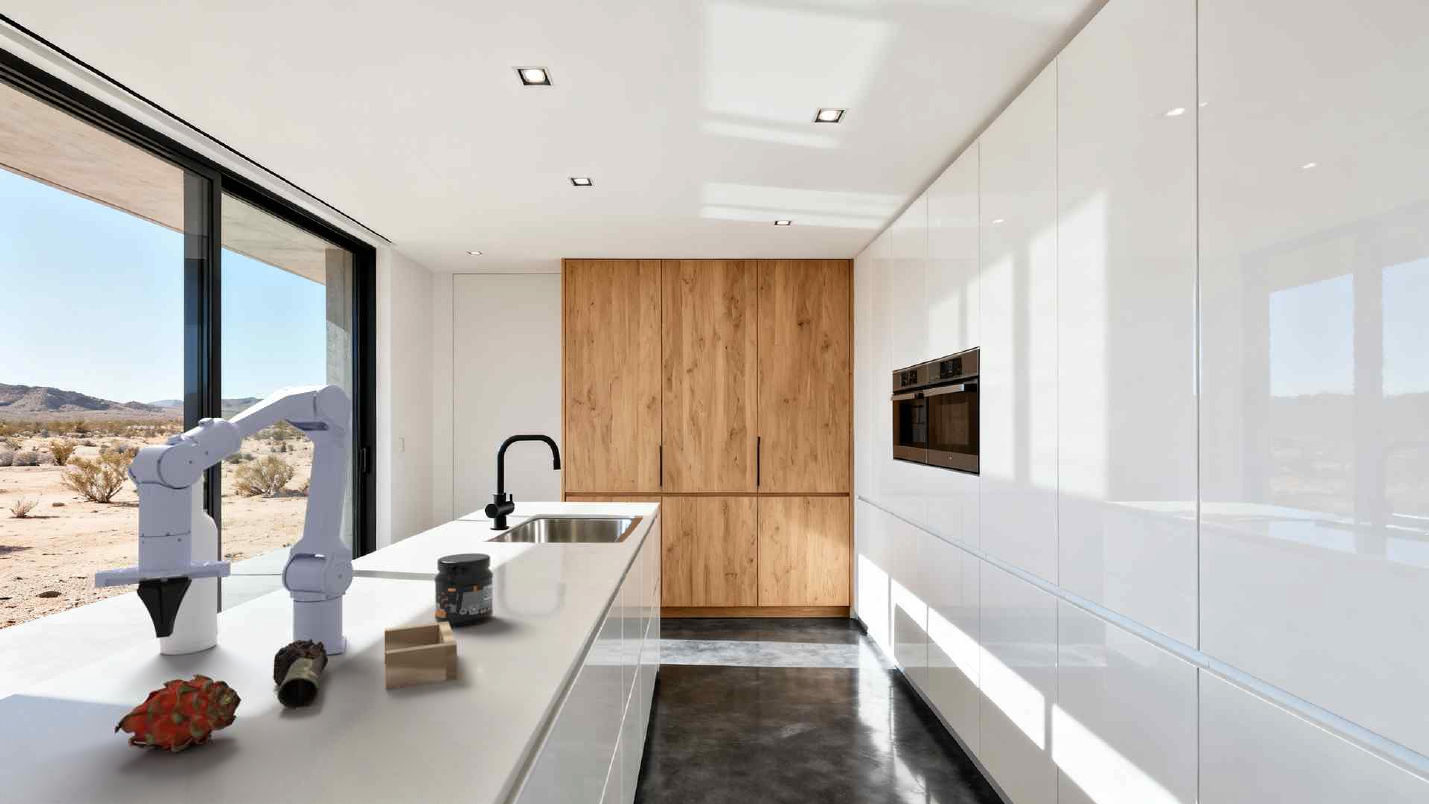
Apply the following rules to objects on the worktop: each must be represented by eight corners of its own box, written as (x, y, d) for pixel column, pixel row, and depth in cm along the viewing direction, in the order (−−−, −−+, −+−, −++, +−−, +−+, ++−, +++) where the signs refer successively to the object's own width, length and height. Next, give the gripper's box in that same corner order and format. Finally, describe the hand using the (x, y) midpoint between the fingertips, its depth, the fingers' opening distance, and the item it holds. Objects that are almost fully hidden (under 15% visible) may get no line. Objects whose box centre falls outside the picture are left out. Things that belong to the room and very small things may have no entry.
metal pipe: (319, 707, 97) (318, 665, 97) (260, 717, 94) (259, 673, 94) (330, 666, 113) (329, 630, 113) (280, 673, 111) (279, 636, 111)
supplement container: (432, 617, 141) (432, 555, 141) (489, 611, 145) (488, 550, 146) (436, 631, 131) (436, 564, 132) (497, 624, 136) (496, 559, 136)
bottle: (206, 638, 129) (207, 469, 130) (225, 645, 124) (226, 470, 125) (152, 650, 122) (153, 471, 123) (170, 658, 118) (171, 473, 119)
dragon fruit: (249, 748, 88) (124, 789, 82) (245, 690, 94) (128, 724, 88) (237, 707, 83) (103, 747, 77) (234, 648, 89) (109, 681, 83)
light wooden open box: (384, 660, 115) (384, 628, 115) (448, 652, 119) (448, 621, 119) (385, 689, 102) (385, 653, 103) (456, 678, 106) (456, 644, 107)
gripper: (86, 542, 91) (85, 651, 91) (223, 533, 98) (223, 635, 97) (105, 535, 98) (104, 636, 97) (233, 527, 104) (232, 623, 104)
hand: (164, 635), depth 98 cm, fingers closed
